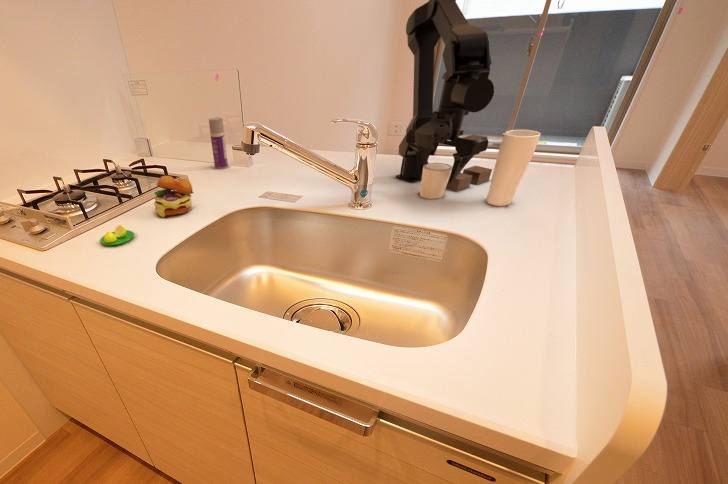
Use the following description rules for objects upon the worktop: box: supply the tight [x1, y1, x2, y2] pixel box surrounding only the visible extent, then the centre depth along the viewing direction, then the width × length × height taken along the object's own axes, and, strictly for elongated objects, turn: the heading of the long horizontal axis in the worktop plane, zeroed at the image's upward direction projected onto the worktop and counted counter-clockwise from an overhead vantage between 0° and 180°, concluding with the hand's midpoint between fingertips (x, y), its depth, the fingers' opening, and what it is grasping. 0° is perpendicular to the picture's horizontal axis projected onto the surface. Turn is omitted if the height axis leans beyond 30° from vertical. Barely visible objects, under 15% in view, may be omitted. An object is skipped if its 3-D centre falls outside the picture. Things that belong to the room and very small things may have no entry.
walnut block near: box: [445, 172, 472, 192], centre depth 97 cm, size 5×5×3 cm
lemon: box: [99, 224, 135, 246], centre depth 87 cm, size 8×8×3 cm
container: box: [208, 116, 229, 170], centre depth 124 cm, size 5×5×15 cm
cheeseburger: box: [153, 175, 195, 218], centre depth 98 cm, size 10×11×10 cm
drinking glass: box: [485, 129, 541, 207], centre depth 83 cm, size 7×7×15 cm
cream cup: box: [419, 162, 453, 200], centre depth 93 cm, size 7×7×7 cm
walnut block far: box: [462, 165, 493, 186], centre depth 100 cm, size 5×5×3 cm
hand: (435, 177), depth 92 cm, fingers open, 9 cm apart
